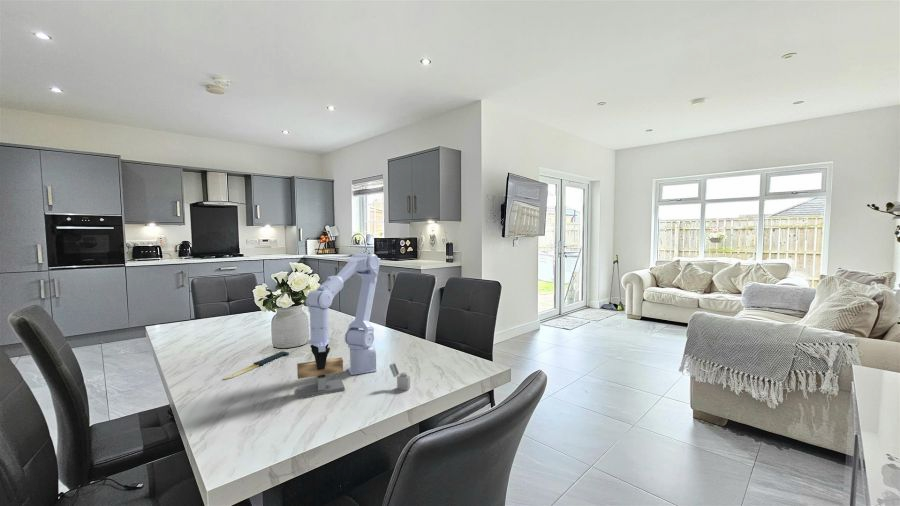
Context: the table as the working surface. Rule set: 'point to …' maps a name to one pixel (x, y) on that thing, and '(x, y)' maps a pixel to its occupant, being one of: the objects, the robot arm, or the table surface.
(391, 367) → the lighter
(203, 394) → the table surface
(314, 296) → the robot arm
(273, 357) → the knife
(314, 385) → the stand
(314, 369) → the bar
